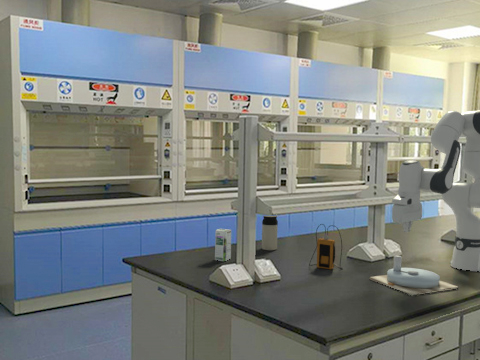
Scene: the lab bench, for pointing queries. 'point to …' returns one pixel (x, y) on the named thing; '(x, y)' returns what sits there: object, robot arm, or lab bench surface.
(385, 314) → the lab bench surface
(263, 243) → the travel mug
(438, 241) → the lab bench surface
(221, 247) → the syrup box
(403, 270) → the capstan dial
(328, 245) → the multimeter
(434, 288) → the base plate
